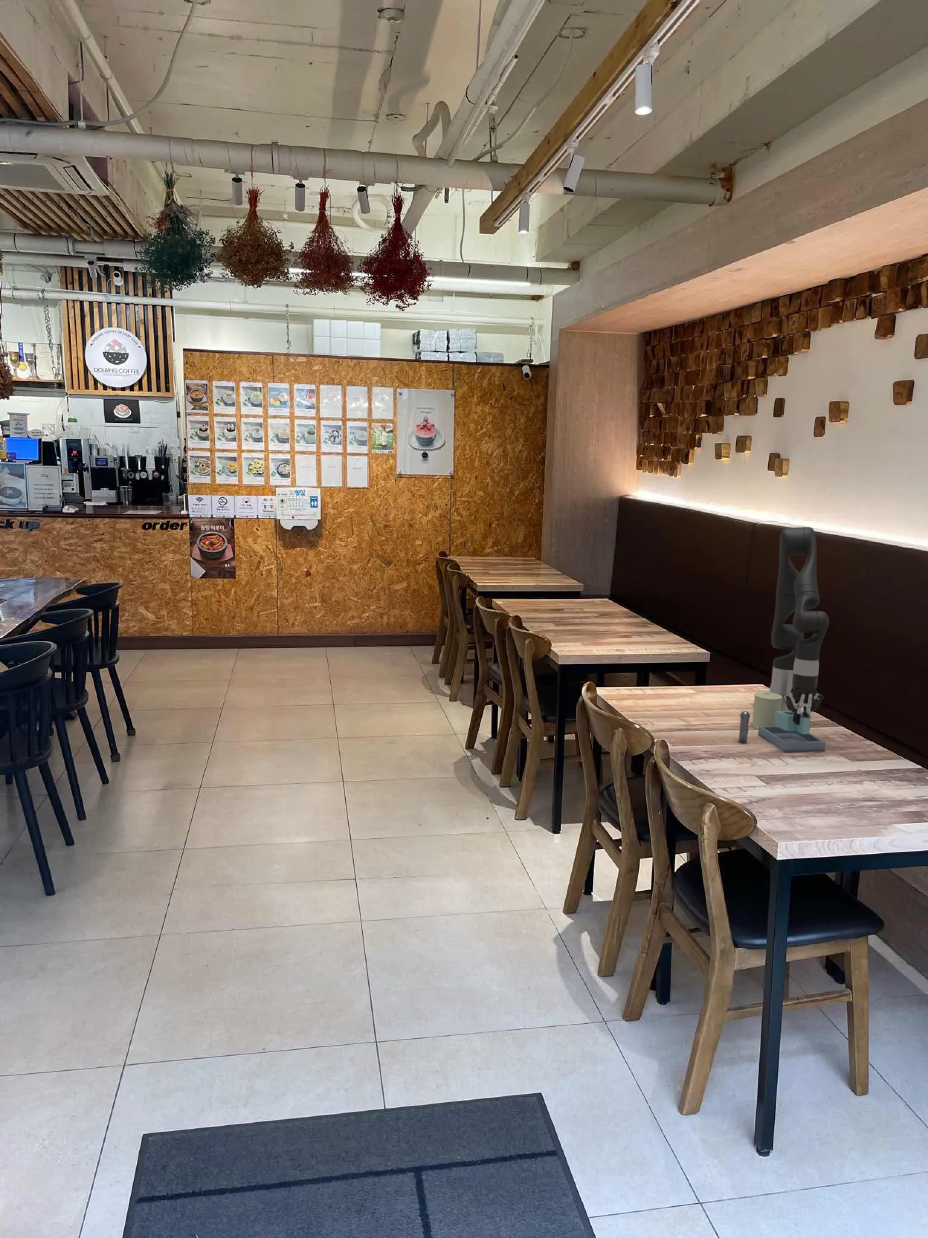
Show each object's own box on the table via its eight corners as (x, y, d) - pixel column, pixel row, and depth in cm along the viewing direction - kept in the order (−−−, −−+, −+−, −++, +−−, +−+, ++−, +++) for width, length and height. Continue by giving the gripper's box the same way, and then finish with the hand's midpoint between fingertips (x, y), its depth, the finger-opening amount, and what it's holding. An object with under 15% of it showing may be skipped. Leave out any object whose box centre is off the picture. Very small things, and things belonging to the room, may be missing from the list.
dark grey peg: (736, 740, 290) (738, 710, 288) (744, 740, 290) (747, 709, 288) (740, 744, 287) (743, 712, 285) (749, 743, 287) (752, 712, 285)
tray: (758, 735, 296) (758, 726, 296) (796, 734, 299) (797, 725, 298) (784, 752, 279) (785, 743, 279) (824, 751, 282) (825, 742, 281)
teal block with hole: (774, 725, 291) (775, 711, 291) (796, 725, 293) (797, 710, 292) (794, 734, 279) (795, 719, 278) (817, 733, 280) (818, 718, 280)
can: (775, 723, 310) (778, 691, 307) (782, 732, 301) (785, 698, 298) (749, 722, 310) (751, 690, 308) (754, 730, 301) (757, 697, 299)
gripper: (819, 669, 284) (813, 720, 287) (779, 669, 282) (774, 721, 285) (832, 674, 277) (826, 727, 280) (791, 675, 275) (786, 728, 278)
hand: (800, 724), depth 283 cm, fingers closed on teal block with hole
